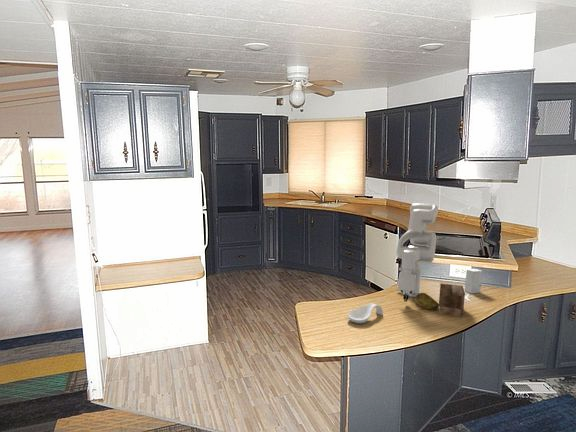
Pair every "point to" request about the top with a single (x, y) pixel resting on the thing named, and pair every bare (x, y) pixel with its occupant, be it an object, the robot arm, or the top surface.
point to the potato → (427, 301)
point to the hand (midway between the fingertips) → (405, 300)
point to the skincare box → (473, 281)
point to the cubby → (451, 299)
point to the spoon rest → (363, 313)
